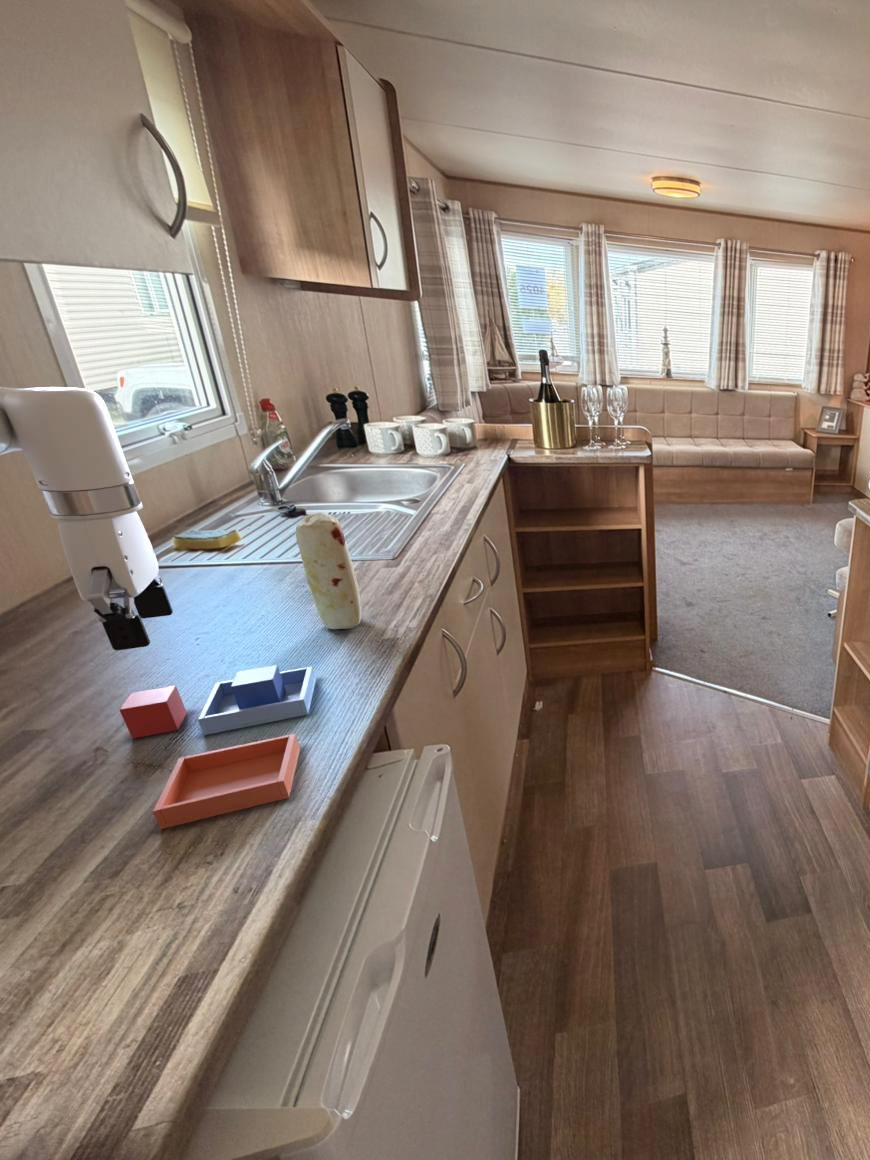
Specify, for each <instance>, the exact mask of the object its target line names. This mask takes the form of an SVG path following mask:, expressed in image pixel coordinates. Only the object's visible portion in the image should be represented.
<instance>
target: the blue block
mask: <svg viewBox="0 0 870 1160" xmlns="http://www.w3.org/2000/svg"><path fill="white" fill-rule="evenodd" d="M280 672H281V671H280V668H279V665H278V664H275V665H269V666H268V665H267V666H263V667H256V668H250V669H244V670H239V671H237V672H236V674H235V676H234V679H233V680H234V681H233V683H232V685H231V689H232V691H233V694H234V697H235V700H236V702H237V705H238V708H239V710H241V709H246V708H251V707H257V706H262V705H267V704H272V703H278V702H283V700H284V697H285V693H286V689H285V686H284V683H283V680H282V677H281V674H280Z"/></svg>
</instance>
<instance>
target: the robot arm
mask: <svg viewBox="0 0 870 1160" xmlns="http://www.w3.org/2000/svg"><path fill="white" fill-rule="evenodd" d="M18 451H22V452H23V455H24V457H25V460H26V462H27V464H28V467H29V469H30V471H31V473H32V476H33V478H34V480H35V482H36V483H35V484H37V487H38V490H39V492H40V495H41V497H42V499H43V501H44V504H45V506H46V508H47V511H48V514H49V517H50V518H51V519H54V520H57V527H58V533H59V538H60V541H61V545H62V549H63V552H64V555H65V558H66V561H67V562H66V563H67V564H68V568H69V570H70V573H71V575H72V579H73V581H74V585H75V588H76V590H77V592H78V595H79V597H80V599H81V600H82V601H83V602H86V603H90V604H91V606H93V612H94V613H96V615H97V618H98V620H99V622H100V623H101V624H102V626H103V629H104V631H105V633H106V636H107V638H108V641H109V643H110V646H111V647H112V649H113V650H114V651H126V650H130V649H131V650H132V649H138V648H139V649H140V648H146V647H149V645H150V644H151V640H150V637H149V635H148V633H147V630H146V627H145V624H144V622H143V619H150V618H161V617H167V616H171V615H172V614H173V613H174V610H173V607H172V604H171V601H170V599H169V597H168V593H167V591H166V589H165V586H164V585H163V584H164V583H163V579H162V577H161V576H160V575H159V571H160V567H159V562H158V559H157V556H156V554H155V550H154V548H153V545H152V543H151V540H150V538H149V536H148V533H147V530H146V529H145V527H144V524H143V521H142V520H141V517H140V516H139V514H138V511H141V510H142V509H144V505H143V502H142V501H141V498H140V495H139V491H138V490H137V487H136V484H135V481H134V479H133V476H132V474H131V470H130V467H129V465H128V462H127V459H126V457H125V454H124V451H123V448H122V446H121V443H120V439H119V436H118V434H117V432H116V429H115V426H114V424H113V420H112V417H111V415H110V412H109V409H108V407H107V405H106V403H105V400H104V399H103V398H102V397H101V396H100V395H99V394H98V393H96V392H95V391H93V390H90V389H87V388H81V387H69V386H68V387H66V386H65V387H64V386H63V387H62V386H49V387H48V386H47V387H46V386H45V387H28V388H27V387H26V388H14V387H6V386H0V456H2V455H5V454H9V453H12V452H18ZM120 601H123V606H122V605H120V603H118V602H120ZM135 609H136V610H135ZM135 611H137V614H136V612H135Z"/></svg>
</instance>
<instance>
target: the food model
mask: <svg viewBox="0 0 870 1160" xmlns="http://www.w3.org/2000/svg"><path fill="white" fill-rule="evenodd" d="M342 528H343V527H342V526H341V523H340V522H339V520H338V519H337V518H336V517H334V515H331V514H327V513H324V512H316V513H312V514H309V515H306V516H305V517H304V518H303V519H302V521H301V525H299V524H296V525H295V532H294V533H295V538H296V543H297V546H298V549H299V553H300V557H301V558H300V559H301V562H302V565H303V569H304V573H305V576H306V580H307V583H308V586H309V589H310V592H311V595H312V599H313V602H314V605H315V607H316V610H317V614H318V616H319V619H320V621H321V622H322V624H323V625H324V627H326V628H327V629H329V630H343V629H345V630H346V629H347V630H348V629H353V628H354V627H357V626H358V625H359V624H360V623H361V620H362V607H361V605H362V604H361V595H360V589H359V584H358V579H357V576H356V575H357V574H356V571H355V569H354V564H353V562H352V558H351V555H350V550H349V547H348V543H347V540H346V538H345V535H344V532H343V529H342Z"/></svg>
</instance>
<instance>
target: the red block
mask: <svg viewBox="0 0 870 1160" xmlns="http://www.w3.org/2000/svg"><path fill="white" fill-rule="evenodd" d="M119 713H120V715H121V717H122V719H123V721H124V724H125V726H126V728H127V731H128V732H129V735H130V737H131V739H132V740H134V739H138V738H139V739H140V738H143V737H149V736H153V735H160V734H165V733H170V732H174V731H178V730H179V729H180V727H181V725H182V723H183V722H184V720H185V718H186V716H187V714H188V712H187V709H186V707H185V705H184V702H183V699H182V697H181V695H180V692H179V689H178V687H177V685H176V684H175V685H169V686H163V687H158V688H152V689H146V690H139V691H134V692H131V693H130V694H129V695H128V697H126V699H125V701H124V703H123V704H122V705H121V707H120V708H119Z"/></svg>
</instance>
